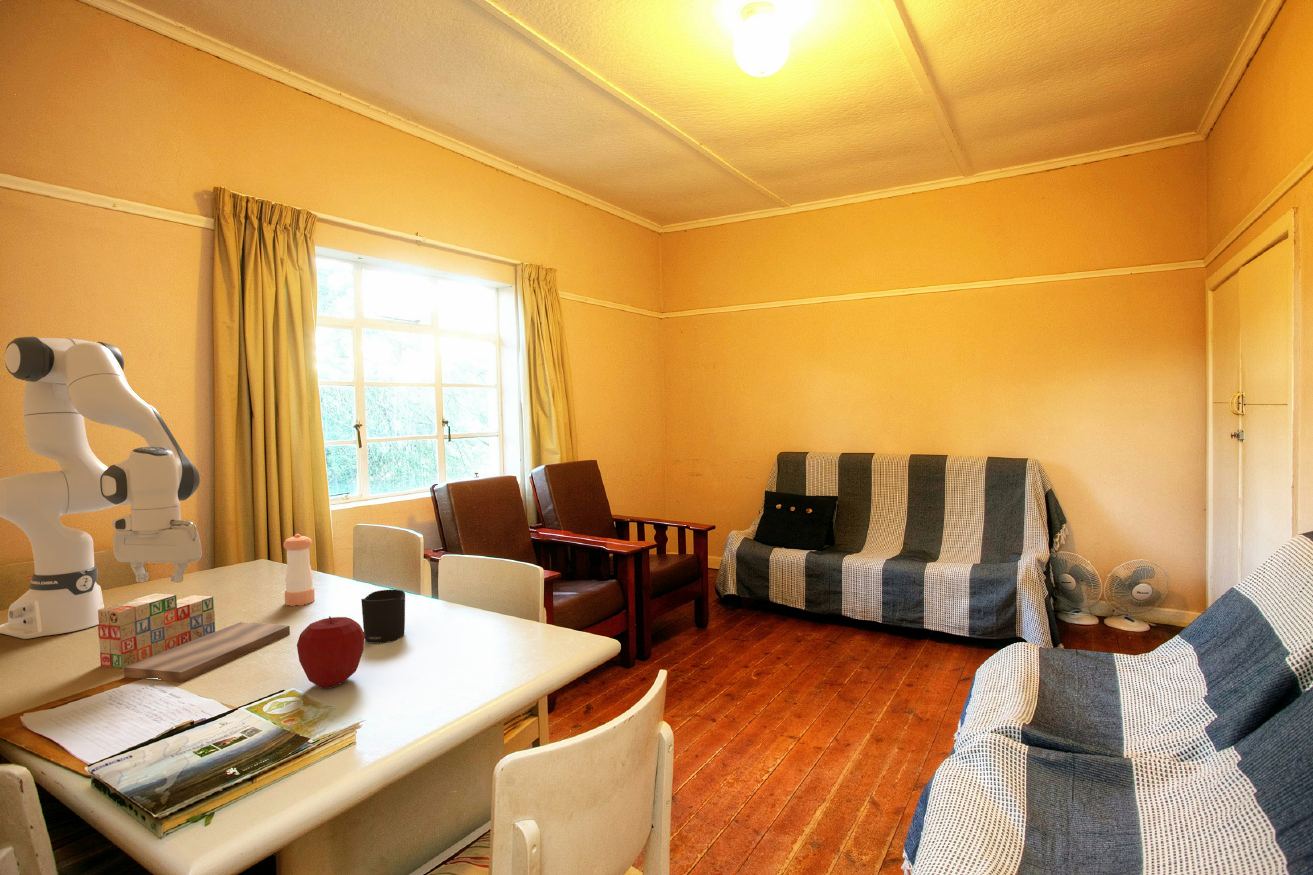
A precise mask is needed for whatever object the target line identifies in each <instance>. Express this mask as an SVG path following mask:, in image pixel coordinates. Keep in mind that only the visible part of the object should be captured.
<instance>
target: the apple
mask: <svg viewBox="0 0 1313 875" xmlns="http://www.w3.org/2000/svg"><path fill="white" fill-rule="evenodd" d="M364 648H365V634H364V629H362V625H361V624H359V623H358V622H357V621H355V619H352V618H351V617H346V616H335V617H333V616H332V617H331V615H330V616H328V618H322V619H319V620H317V621H314V622H312V623H310V624H308V625H307V626H306V627H305V628H304V629H303V631H301V633H300V635H299V636H298V641H297V644H296V649H297V656H298V662H299V663H300V667H302V669H303V671H304V673H305V676H306V678H307V679H308V682H310V683H312V684H313V685H315V686H317V688H318V687H319V688H320V689H331V688H334V687H338V686H339V685H342V684H344V683H345V682H346V681H347V680H348V679H349V678H351V677H352V676H353V675H354V674H355V673H356V671H357V670H358V668H359V664H360V662H361V659H362V656H363V653H364Z"/></svg>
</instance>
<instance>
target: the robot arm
mask: <svg viewBox="0 0 1313 875" xmlns="http://www.w3.org/2000/svg"><path fill="white" fill-rule="evenodd" d="M4 364H5V367H6V369H7V372H9V374H10V375H11V376H13V377H14V378H16V379H17V380H21V381H25V384H24V389H23V391H24V392H23V401H22V406H23V407H22V411H23V413H22V414H23V424H24V425H23V426H24V436H25V444H26V447H27V448H28V449H29V450H30V451H31V452H32V453H34V454H37V455H38V456H41V457H45V458H48V459H51V460H54V461H55V462H57V464H58V465H59V466H60V470H56V471H53V470H52V471H42V472H41V471H40V472H39V471H38V472H37V471H36V472H24V473H20V474H19V473H18V474H14V475H13V474H12V475H9V476H6V477H0V518H1V519H3V520H6V521H8V522H11V523H12V524H14V526H16V527H18V528H19V529H20V530H21V531H22V532H23V533H24V535H25V536H26V537H27V538H28V541H29V543H30V546H31V551H32V556H33V564H34V565H33V566H34V567H33V568H34V573H33V575H32V574H31V575H28V576H26V578H28V579H27V580H26V581H27V582H30V583H29V587H28V590H27V591H26V592H25V593H24V594H22V595H21V596H20V597H19V598H18V599H16V600H15V601H14V602H12V603H11V604H10V606H9V607H8V612H7V622H5V623H3V624H0V634H4V635H8V636H11V637H15V638H19V639H22V640H23V639H24V640H26V639H28V640H29V639H33V638H39V637H44V636H51V635H60V634H66V633H71V632H77V631H81V630H84V629H89V628H91V627H94V626H98V624H99V621H98V610H99V609H102V608H105V605H104V600H103V599H104V598H103V593H102V592H103V591H102V588H101V586H100V585H99V584H98V583H97V581H98V579H99V578H98V574H99V573H98V567H97V566H96V565H95V549H94V547H95V546H94V539H93V537H92V536H91V534H90V533H88V532H86V531H85V530H82V529H78V528H75V527H71V526H67V525H64V524H63V522H62V519H61V517H62V516H66V515H75V514H83V513H95V512H99V511H104V510H107V509H110V508H113V507H118V506H127V505H129V506H130V508H129V509H130V510H129V512H130V513H129V514H127V515H124V516H122V517H118V518H117V519H114V520H113V521H112V522H111V527H112V530H113V531H115V532H114V533H113V537H112V545H113V548H112V549H113V556H114V558H115V559H116V561H117V562H119V563H130V565H129V566H130V568H131V569H132V572H133V574H134V575H135V581H136V582H137V583H144V582H148V581H149V580H150V577H149V574H150V573H149V572H146V570H145V567H144V565H145V564H146V563H154V564H156V563H159V564H162V563H163V564H173V568H175V570H174V572H173V574H171V575H169V576H170V582H171V583H172V584H179V583H183V582H184V574H185V572H186V570H187V568H188V564H190V563H193V562H198V561H201V560H200V559H201V558H202V556H203V550H202V544H201V537H200V534H199V532H198V529H197V528H198V527H197V526H196V524H194V523H193V522H192V521H191V520H188V519H187V520H186V519H184V520H182V513H181V511H182V510H181V501H182V502H183V501H186V500H187V499H189V498H190V497H191V496H192V495H194V493H195V492H196V491H197V490H198V488H199V486H200V483H201V476H200V474H199V471H198V469H197V466H195V464H194V463H193V462H192V461H191V460H190V459H189V457H187V456H186V454H185V453H184V451H183V449H182V448H181V446H180V445H179V443H178V441H177V440H176V438H175V437H174V435H173V434H172V431H171V430H170V428H169V426H168V425H167V424H166V422H165V421H164V419H163V417H162V415H161V414H160V413H159V412H158V410H157V408H156V407H154V406H153V405H152V404H150V403H148V402H146V401H145V400H143V399H142V398H141V397H140V396H139V395H138V394H137V393H136V392H135V391H134V390H133V389H132V388H131V386H130V384H129V383H128V379H127V376H126V375H125V373H124V369H125V360H124V356H123V353H122V352H121V351H120V349H119V348H118V347H117V346H115V345H112V344H111V343H110V344H109V343H106V342H102V341H97V342H95V341H90V340H85V339H79V338H70V337H67V338H62V337H61V338H59V337H57V338H56V337H36V336H21V337H16V338H14V339H13V340H11V341H10V342H9V343H8V344H7V346H6V348H5V352H4ZM85 418H86V419H87V420H89V421H92V422H95V423H98V424H101V425H106V426H110V427H111V426H112V427H115V428H120V429H124V430H126V431H129V432H132V433H135V434H137V435H138V436H140V437H141V438H143V440H144V441H145V442H146V444H147V446H143V447H138V448H135V449H132V450H131V451H130V452H129V455H128V457H127V458H126V459H125V460H123V461H120V462H118V463H116V464H112V465H110V466H108V465H106V464H104V463H103V462H102V461H101V460H100V459H99V458H98V457H97V456H96V454H95V453H94V452H93V450H92V448H91V447H90V444H89V440H88V435H87V430H86V423H85Z"/></svg>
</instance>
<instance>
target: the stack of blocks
mask: <svg viewBox="0 0 1313 875" xmlns="http://www.w3.org/2000/svg"><path fill="white" fill-rule="evenodd" d="M214 605H215V604H214V596H208V595H194V594H193V595H190V596H186V597H183V598H179V599H178V598H177V594H172V593H171V594H169V593H168V594H167V593H156V592H155V593H152V594H148V595H145V596H142V597H138V598H135V599H131V600H128V601H125V602H121V603H117V604H114V605H110V606H107V607H104V608H102V609H99V610H98V621H99V624H97V630H98V631H97V633H98V641H99V651H100V652H99V657H100V658H99V660H100V666H101V667H108V668H117V669H124V667H126V666H128V665H131V664H134V663H136V662H139V661H141V660H144V659H147V658H149V657H152V656H154V655H157V654H159V653H162V652H165V651H167V650H170V649H172V648H175V647H178V646H180V645H183V644H185V643H188V642H190V641H193V640H196V639H198V638H201V637H203V636H206V635H209V634H211V633H214V632H216V622H215V621H216V616H215V606H214Z"/></svg>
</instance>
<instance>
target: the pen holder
mask: <svg viewBox="0 0 1313 875" xmlns="http://www.w3.org/2000/svg"><path fill="white" fill-rule="evenodd" d="M361 613H362V624H363V626H362V627H363V632H364V634H365V638H364V641H366V642H368V643H370V644H386V643H390V642H395V641H397V640H400V639H402V637H403V636H404V635H405V633H406V632H405V629H406V623H405V622H406V593H405V591H404V590H402V589H382V590H377V591H376V590H375V591H373V592H371V593H369V594H368V595H367V596H366V597H365V598H361Z"/></svg>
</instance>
